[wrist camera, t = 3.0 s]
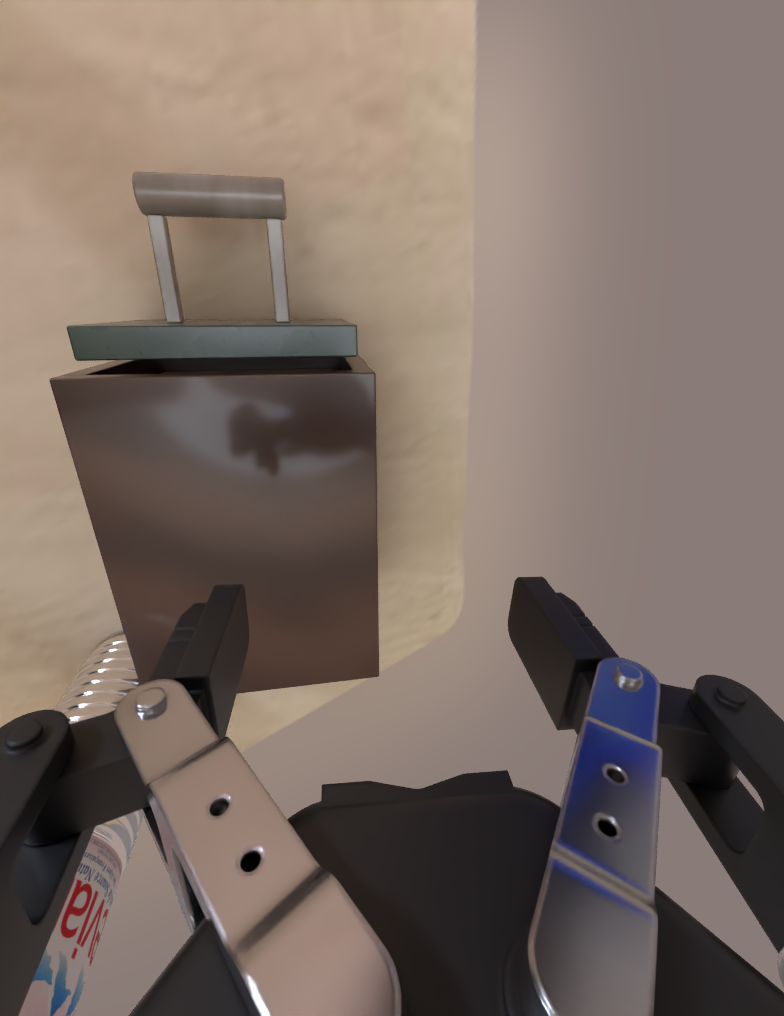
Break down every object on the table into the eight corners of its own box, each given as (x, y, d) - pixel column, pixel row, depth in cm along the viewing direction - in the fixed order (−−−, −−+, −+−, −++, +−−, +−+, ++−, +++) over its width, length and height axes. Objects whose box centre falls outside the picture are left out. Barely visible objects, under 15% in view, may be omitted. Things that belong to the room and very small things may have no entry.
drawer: (114, 197, 21) (15, 142, 14) (339, 205, 23) (352, 160, 16) (189, 563, 29) (151, 645, 22) (352, 551, 31) (364, 623, 24)
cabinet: (140, 353, 25) (48, 378, 16) (354, 350, 27) (375, 372, 18) (191, 593, 31) (145, 705, 22) (361, 578, 33) (379, 677, 24)
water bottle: (86, 624, 31) (-521, 1485, 8) (193, 631, 32) (-73, 1372, 10) (89, 699, 33) (-373, 1520, 11) (188, 703, 35) (-35, 1424, 12)
